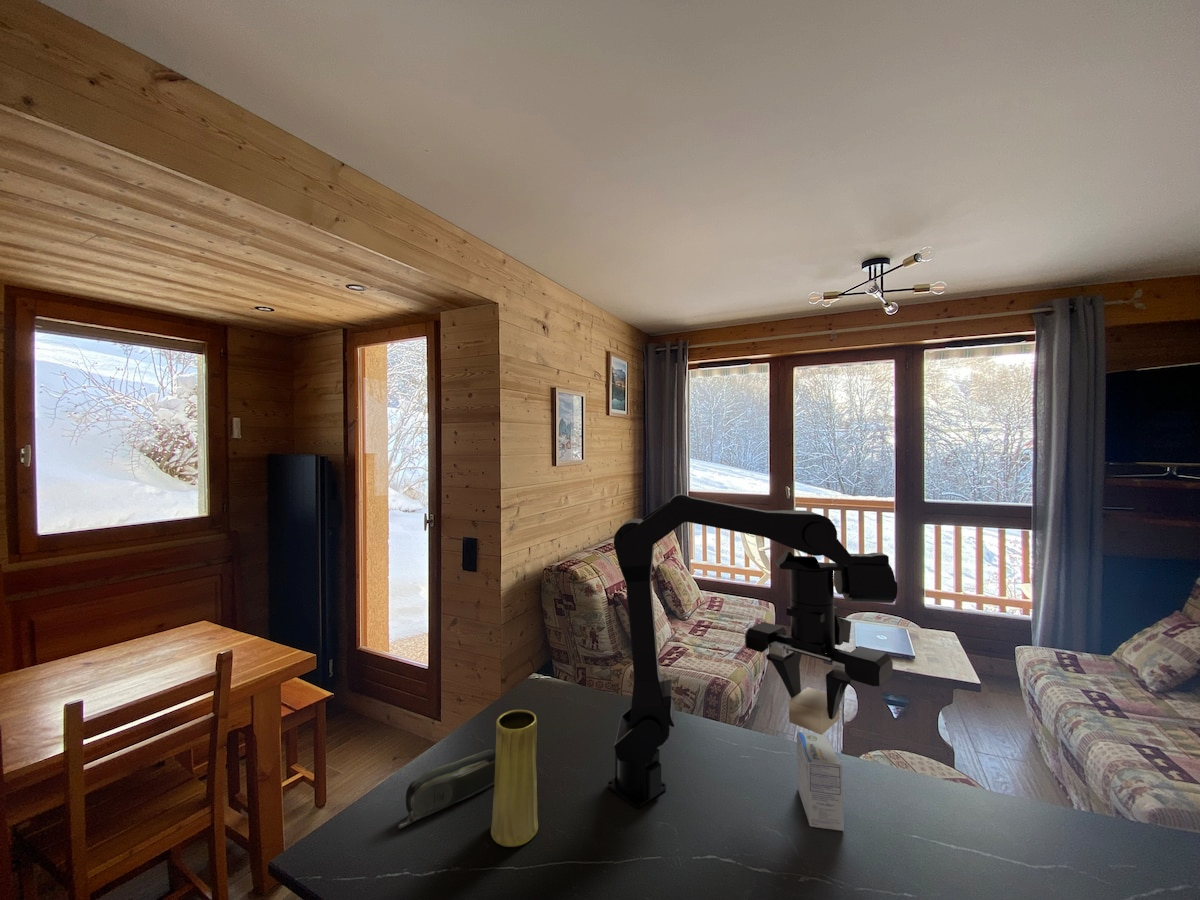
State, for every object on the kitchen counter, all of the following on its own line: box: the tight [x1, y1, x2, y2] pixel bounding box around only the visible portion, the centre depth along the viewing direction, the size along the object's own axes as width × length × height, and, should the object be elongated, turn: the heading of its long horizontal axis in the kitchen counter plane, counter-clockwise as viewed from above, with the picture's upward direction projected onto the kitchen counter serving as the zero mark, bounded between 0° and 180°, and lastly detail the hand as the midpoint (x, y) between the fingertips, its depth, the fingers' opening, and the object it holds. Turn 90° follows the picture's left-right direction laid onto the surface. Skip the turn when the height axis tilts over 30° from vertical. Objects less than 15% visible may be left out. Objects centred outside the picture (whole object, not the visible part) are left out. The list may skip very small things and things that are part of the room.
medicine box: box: [796, 731, 845, 832], centre depth 68 cm, size 8×4×9 cm, turn 168°
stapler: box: [397, 747, 496, 830], centre depth 68 cm, size 5×3×15 cm
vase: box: [490, 709, 539, 848], centre depth 63 cm, size 6×6×14 cm
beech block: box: [788, 686, 841, 735], centre depth 68 cm, size 4×6×3 cm
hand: (814, 711), depth 68 cm, fingers closed on beech block, 4 cm apart
